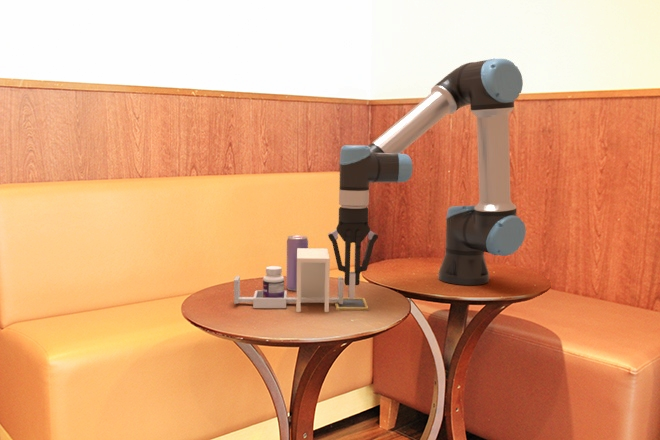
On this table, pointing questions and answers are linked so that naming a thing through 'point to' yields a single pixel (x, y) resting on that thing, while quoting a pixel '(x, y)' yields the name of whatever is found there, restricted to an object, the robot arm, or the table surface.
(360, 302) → the tray
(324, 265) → the tunnel
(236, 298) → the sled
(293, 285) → the beverage can
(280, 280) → the pill bottle
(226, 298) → the table surface
